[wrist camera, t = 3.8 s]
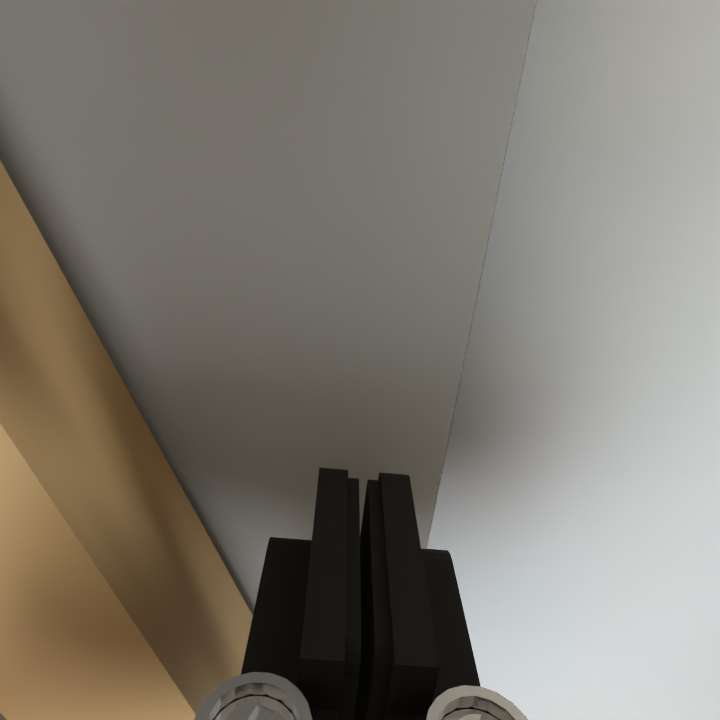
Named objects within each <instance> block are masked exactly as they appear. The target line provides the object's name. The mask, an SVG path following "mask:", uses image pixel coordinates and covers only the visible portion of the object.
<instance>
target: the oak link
mask: <svg viewBox="0 0 720 720" xmlns="http://www.w3.org/2000/svg"><path fill="white" fill-rule="evenodd" d="M252 618H253V615H252V613H251V611H250V610H249V608H248V606H247V604H246V602H245V601H244V599H243V597H242V595H241V593H240V592H239V590H238V588H237V586H236V584H235V583H234V581H233V579H232V577H231V575H230V574H229V572H228V570H227V568H226V566H225V565H224V563H223V561H222V559H221V557H220V556H219V554H218V552H217V550H216V548H215V547H214V545H213V543H212V541H211V539H210V537H209V536H208V534H207V532H206V530H205V528H204V527H203V525H202V523H201V521H200V519H199V518H198V516H197V514H196V512H195V510H194V509H193V507H192V505H191V503H190V501H189V500H188V498H187V496H186V494H185V492H184V491H183V489H182V487H181V485H180V483H179V482H178V480H177V478H176V476H175V474H174V473H173V471H172V469H171V467H170V465H169V464H168V462H167V460H166V458H165V456H164V455H163V453H162V451H161V449H160V447H159V446H158V444H157V442H156V440H155V438H154V437H153V435H152V433H151V431H150V429H149V427H148V426H147V424H146V422H145V420H144V418H143V417H142V415H141V413H140V411H139V409H138V408H137V406H136V404H135V402H134V400H133V399H132V397H131V395H130V393H129V391H128V390H127V388H126V386H125V384H124V382H123V381H122V379H121V377H120V375H119V373H118V372H117V370H116V368H115V366H114V364H113V363H112V361H111V359H110V357H109V355H108V354H107V352H106V350H105V348H104V346H103V345H102V343H101V341H100V339H99V337H98V336H97V334H96V332H95V330H94V328H93V327H92V325H91V323H90V321H89V319H88V317H87V316H86V314H85V312H84V310H83V308H82V307H81V305H80V303H79V301H78V299H77V298H76V296H75V294H74V292H73V290H72V289H71V287H70V285H69V283H68V281H67V280H66V278H65V276H64V274H63V272H62V271H61V269H60V267H59V265H58V263H57V262H56V260H55V258H54V256H53V254H52V253H51V251H50V249H49V247H48V245H47V244H46V242H45V240H44V238H43V236H42V235H41V233H40V231H39V229H38V227H37V226H36V224H35V222H34V220H33V218H32V216H31V215H30V213H29V211H28V209H27V207H26V206H25V204H24V202H23V200H22V198H21V197H20V195H19V193H18V191H17V189H16V188H15V186H14V184H13V182H12V180H11V179H10V177H9V175H8V173H7V171H6V170H5V168H4V166H3V164H2V162H1V161H0V712H1V714H2V715H3V716H4V717H5V718H6V719H7V720H194V719H195V716H196V714H197V712H198V710H199V709H200V707H201V705H202V704H203V702H204V700H205V699H206V697H207V696H208V695H209V694H210V693H211V692H213V691H214V690H215V689H216V688H217V687H218V686H219V685H220V684H222V683H224V682H225V681H227V680H229V679H231V678H233V677H235V676H237V675H241V671H242V666H243V661H244V656H245V651H246V646H247V642H248V637H249V632H250V627H251V622H252Z"/></svg>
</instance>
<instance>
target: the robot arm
mask: <svg viewBox="0 0 720 720" xmlns="http://www.w3.org/2000/svg"><path fill="white" fill-rule="evenodd" d="M194 720H527V718H526V716H525V715H524V714H523V713H522V712H521V711H520V710H519V709H518V708H517V707H516V706H515V705H514V704H513V703H512V702H511V701H509V700H507V699H506V698H504V697H503V696H501V695H500V694H498V693H497V692H494V691H491V690H488V689H486V688H483V687H480V682H479V678H478V673H477V669H476V664H475V660H474V656H473V651H472V647H471V642H470V638H469V633H468V629H467V625H466V620H465V616H464V611H463V607H462V602H461V598H460V594H459V589H458V585H457V580H456V576H455V571H454V567H453V562H452V559H451V556H450V553H449V552H448V551H447V550H434V549H421V545H420V539H419V532H418V526H417V520H416V513H415V507H414V501H413V494H412V488H411V482H410V477H409V475H405V474H393V473H381V472H380V473H379V476H378V480H370V479H368V481H367V486H366V494H365V502H364V509H363V517H362V525H361V532H360V507H359V479H358V478H348V470H344V469H332V468H320V467H319V476H318V486H317V495H316V505H315V515H314V524H313V534H312V540H302V539H289V538H276V537H270V538H269V541H268V546H267V550H266V555H265V560H264V565H263V569H262V574H261V579H260V584H259V589H258V594H257V598H256V603H255V608H254V613H253V618H252V622H251V627H250V632H249V637H248V642H247V646H246V651H245V656H244V661H243V666H242V671H241V675H237V676H235V677H233V678H231V679H229V680H227V681H225V682H224V683H222V684H220V685H219V686H218V687H217V688H216V689H215V690H214V691H213V692H211V693H210V694H209V695H208V696H207V697H206V699H205V700H204V702H203V704H202V705H201V707H200V709H199V710H198V712H197V714H196V716H195V719H194Z"/></svg>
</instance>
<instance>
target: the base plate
mask: <svg viewBox="0 0 720 720" xmlns="http://www.w3.org/2000/svg"><path fill="white" fill-rule="evenodd" d="M535 5H536V0H0V161H1V162H2V164H3V166H4V168H5V170H6V171H7V173H8V175H9V177H10V179H11V180H12V182H13V184H14V186H15V188H16V189H17V191H18V193H19V195H20V197H21V198H22V200H23V202H24V204H25V206H26V207H27V209H28V211H29V213H30V215H31V216H32V218H33V220H34V222H35V224H36V226H37V227H38V229H39V231H40V233H41V235H42V236H43V238H44V240H45V242H46V244H47V245H48V247H49V249H50V251H51V253H52V254H53V256H54V258H55V260H56V262H57V263H58V265H59V267H60V269H61V271H62V272H63V274H64V276H65V278H66V280H67V281H68V283H69V285H70V287H71V289H72V290H73V292H74V294H75V296H76V298H77V299H78V301H79V303H80V305H81V307H82V308H83V310H84V312H85V314H86V316H87V317H88V319H89V321H90V323H91V325H92V327H93V328H94V330H95V332H96V334H97V336H98V337H99V339H100V341H101V343H102V345H103V346H104V348H105V350H106V352H107V354H108V355H109V357H110V359H111V361H112V363H113V364H114V366H115V368H116V370H117V372H118V373H119V375H120V377H121V379H122V381H123V382H124V384H125V386H126V388H127V390H128V391H129V393H130V395H131V397H132V399H133V400H134V402H135V404H136V406H137V408H138V409H139V411H140V413H141V415H142V417H143V418H144V420H145V422H146V424H147V426H148V427H149V429H150V431H151V433H152V435H153V437H154V438H155V440H156V442H157V444H158V446H159V447H160V449H161V451H162V453H163V455H164V456H165V458H166V460H167V462H168V464H169V465H170V467H171V469H172V471H173V473H174V474H175V476H176V478H177V480H178V482H179V483H180V485H181V487H182V489H183V491H184V492H185V494H186V496H187V498H188V500H189V501H190V503H191V505H192V507H193V509H194V510H195V512H196V514H197V516H198V518H199V519H200V521H201V523H202V525H203V527H204V528H205V530H206V532H207V534H208V536H209V537H210V539H211V541H212V543H213V545H214V547H215V548H216V550H217V552H218V554H219V556H220V557H221V559H222V561H223V563H224V565H225V566H226V568H227V570H228V572H229V574H230V575H231V577H232V579H233V581H234V583H235V584H236V586H237V588H238V590H239V592H240V593H241V595H242V597H243V599H244V601H245V602H246V604H247V606H248V608H249V610H250V611H251V613H252V615H253V613H254V608H255V603H256V598H257V594H258V589H259V584H260V579H261V574H262V569H263V565H264V560H265V555H266V550H267V546H268V541H269V538H270V537H276V538H289V539H302V540H312V534H313V524H314V515H315V505H316V495H317V486H318V476H319V467H320V468H332V469H344V470H348V478H358V479H359V507H360V532H361V525H362V517H363V509H364V502H365V494H366V486H367V481H368V479H370V480H378V476H379V473H380V472H381V473H393V474H405V475H409V477H410V482H411V488H412V494H413V501H414V507H415V513H416V520H417V526H418V532H419V539H420V545H421V549H426V548H427V543H428V538H429V533H430V528H431V523H432V518H433V514H434V509H435V504H436V499H437V494H438V489H439V484H440V479H441V474H442V469H443V464H444V459H445V454H446V449H447V444H448V439H449V434H450V429H451V424H452V419H453V414H454V409H455V404H456V399H457V394H458V389H459V384H460V379H461V374H462V369H463V364H464V359H465V354H466V349H467V344H468V339H469V334H470V329H471V324H472V319H473V314H474V309H475V304H476V299H477V294H478V289H479V284H480V279H481V274H482V269H483V264H484V259H485V254H486V249H487V244H488V239H489V234H490V229H491V224H492V219H493V214H494V209H495V205H496V200H497V195H498V190H499V185H500V180H501V175H502V170H503V165H504V160H505V155H506V150H507V145H508V140H509V135H510V130H511V125H512V120H513V115H514V110H515V105H516V100H517V95H518V90H519V85H520V80H521V75H522V70H523V65H524V60H525V55H526V50H527V45H528V40H529V35H530V30H531V25H532V20H533V15H534V10H535ZM0 720H7V719H6V718H5V717H4V716H3V715H2V714H1V712H0Z"/></svg>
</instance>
